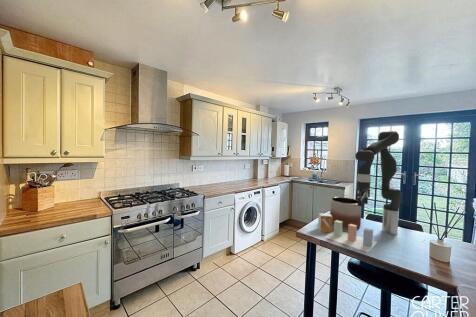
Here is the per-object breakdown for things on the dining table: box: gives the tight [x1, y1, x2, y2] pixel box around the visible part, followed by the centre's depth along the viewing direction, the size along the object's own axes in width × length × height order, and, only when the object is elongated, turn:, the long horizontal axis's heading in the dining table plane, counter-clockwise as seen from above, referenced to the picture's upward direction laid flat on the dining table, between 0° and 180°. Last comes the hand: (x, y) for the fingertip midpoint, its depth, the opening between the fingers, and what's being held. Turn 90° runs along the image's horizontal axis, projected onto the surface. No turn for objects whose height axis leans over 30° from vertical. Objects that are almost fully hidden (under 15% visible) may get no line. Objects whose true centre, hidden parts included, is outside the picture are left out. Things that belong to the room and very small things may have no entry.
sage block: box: [333, 220, 343, 237], centre depth 140 cm, size 4×4×10 cm
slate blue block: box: [362, 227, 374, 247], centre depth 127 cm, size 4×4×10 cm
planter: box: [329, 196, 362, 229], centre depth 164 cm, size 22×22×20 cm
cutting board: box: [324, 230, 378, 253], centre depth 134 cm, size 20×26×1 cm
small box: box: [317, 212, 333, 233], centre depth 148 cm, size 8×6×13 cm
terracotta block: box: [347, 224, 358, 242], centre depth 133 cm, size 4×4×10 cm
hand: (362, 204), depth 134 cm, fingers open, 8 cm apart
